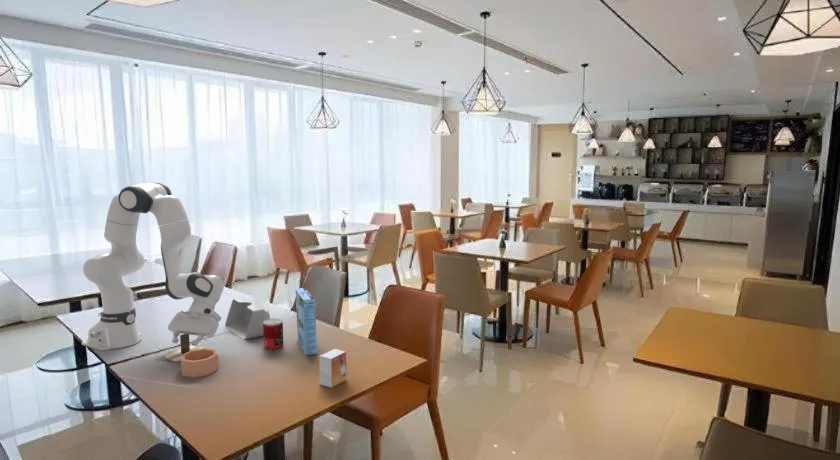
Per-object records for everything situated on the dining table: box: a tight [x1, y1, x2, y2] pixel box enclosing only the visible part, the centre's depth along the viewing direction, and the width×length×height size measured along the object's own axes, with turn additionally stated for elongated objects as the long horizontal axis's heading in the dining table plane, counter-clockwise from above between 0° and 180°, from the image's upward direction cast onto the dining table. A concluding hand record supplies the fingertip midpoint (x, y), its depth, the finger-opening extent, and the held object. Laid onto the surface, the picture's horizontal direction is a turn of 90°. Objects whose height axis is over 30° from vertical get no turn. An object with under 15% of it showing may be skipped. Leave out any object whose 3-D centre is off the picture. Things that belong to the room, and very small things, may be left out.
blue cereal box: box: [295, 287, 318, 357], centre depth 200 cm, size 20×5×23 cm, turn 23°
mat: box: [155, 354, 181, 365], centre depth 191 cm, size 15×15×1 cm
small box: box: [318, 348, 347, 389], centre depth 169 cm, size 8×6×10 cm
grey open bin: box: [224, 297, 271, 340], centre depth 221 cm, size 25×16×12 cm, turn 40°
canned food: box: [262, 318, 284, 351], centre depth 200 cm, size 8×8×11 cm
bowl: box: [180, 347, 219, 378], centre depth 177 cm, size 12×12×6 cm
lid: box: [165, 334, 204, 363], centre depth 191 cm, size 14×14×8 cm
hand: (183, 344), depth 190 cm, fingers open, 8 cm apart
